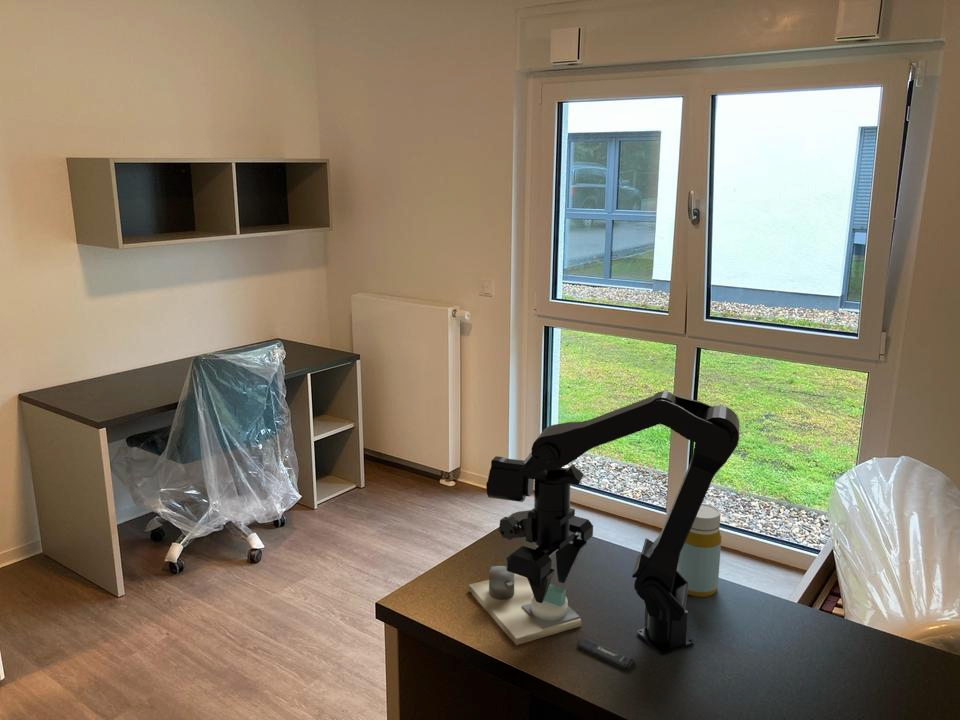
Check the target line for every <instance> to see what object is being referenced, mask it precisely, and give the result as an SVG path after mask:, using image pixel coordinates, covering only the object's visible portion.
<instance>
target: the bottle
mask: <svg viewBox="0 0 960 720" xmlns="http://www.w3.org/2000/svg"><path fill="white" fill-rule="evenodd" d="M721 517H722V516H721V510H719V509H718V508H717V507H716V506H713V505H711V504H706V503H702V504H701V507H700V509H699V511H698V513H697V516H696V518H695V520H694V523H693V525H692V527H691V530H690V532H689V534H688V536H687V539H686V541H685V543H684V546H683V548H682V550H681V552H680V556H679V561H678V566H677V571H678V572H679V573H680V574H681V575H682V577H683V578H684V579H685V580H686V581H687V582H688V583H689V585H688V592H687V596H688V595H689V596H691V597H695V598H709V597H710V596H713V595H714V594H715V593H716V592H717V591H718V589H719V576H720V575H719V574H720V565H721V563H720V562H721V549H722V535H721V532H720V526H721V525H720V524H721Z"/></svg>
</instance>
